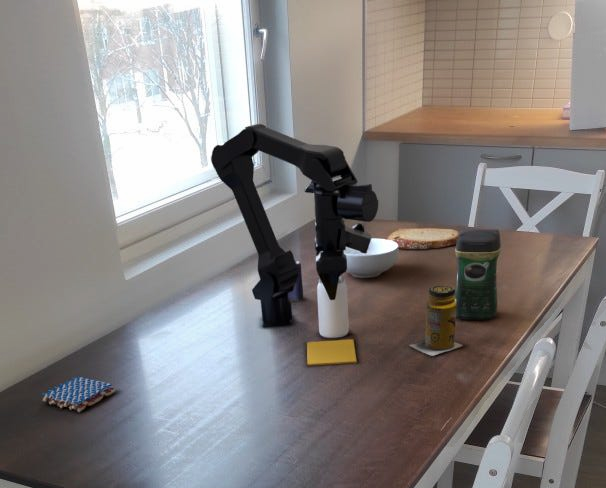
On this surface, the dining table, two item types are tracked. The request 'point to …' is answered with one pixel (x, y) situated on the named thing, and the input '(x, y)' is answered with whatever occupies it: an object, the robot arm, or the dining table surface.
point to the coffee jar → (477, 273)
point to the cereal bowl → (372, 258)
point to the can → (333, 311)
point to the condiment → (439, 321)
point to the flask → (297, 286)
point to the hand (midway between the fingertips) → (331, 292)
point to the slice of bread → (424, 238)
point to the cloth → (331, 352)
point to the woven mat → (78, 393)
